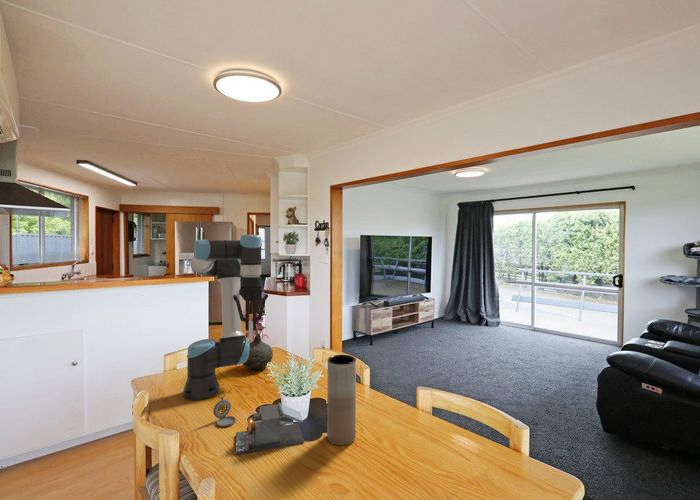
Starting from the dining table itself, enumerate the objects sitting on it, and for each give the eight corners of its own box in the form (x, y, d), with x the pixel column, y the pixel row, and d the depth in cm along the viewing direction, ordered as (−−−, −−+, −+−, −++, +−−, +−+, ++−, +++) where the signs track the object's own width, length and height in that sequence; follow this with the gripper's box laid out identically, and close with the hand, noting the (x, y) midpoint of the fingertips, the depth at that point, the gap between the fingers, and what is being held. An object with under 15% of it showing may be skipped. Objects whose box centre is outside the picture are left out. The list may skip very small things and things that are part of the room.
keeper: (278, 402, 122) (299, 410, 125) (277, 405, 122) (298, 413, 125) (281, 412, 115) (303, 421, 117) (279, 415, 115) (302, 424, 117)
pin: (247, 430, 118) (247, 415, 118) (291, 423, 123) (291, 409, 122) (248, 437, 113) (248, 423, 113) (293, 430, 118) (293, 416, 118)
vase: (235, 372, 179) (235, 315, 178) (250, 361, 196) (250, 309, 195) (265, 374, 176) (265, 317, 175) (277, 363, 193) (277, 310, 193)
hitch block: (236, 435, 120) (236, 408, 120) (298, 425, 127) (298, 399, 127) (236, 455, 108) (236, 425, 108) (304, 442, 115) (304, 415, 115)
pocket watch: (229, 428, 124) (229, 401, 124) (208, 426, 126) (208, 399, 126) (240, 417, 132) (240, 392, 132) (221, 415, 134) (221, 390, 134)
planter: (359, 433, 122) (359, 356, 121) (350, 448, 112) (350, 365, 112) (333, 427, 125) (333, 353, 125) (322, 442, 116) (323, 361, 115)
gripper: (232, 277, 121) (232, 343, 121) (269, 276, 125) (269, 340, 125) (232, 275, 128) (232, 337, 128) (267, 274, 132) (267, 334, 132)
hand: (250, 338), depth 127 cm, fingers closed
